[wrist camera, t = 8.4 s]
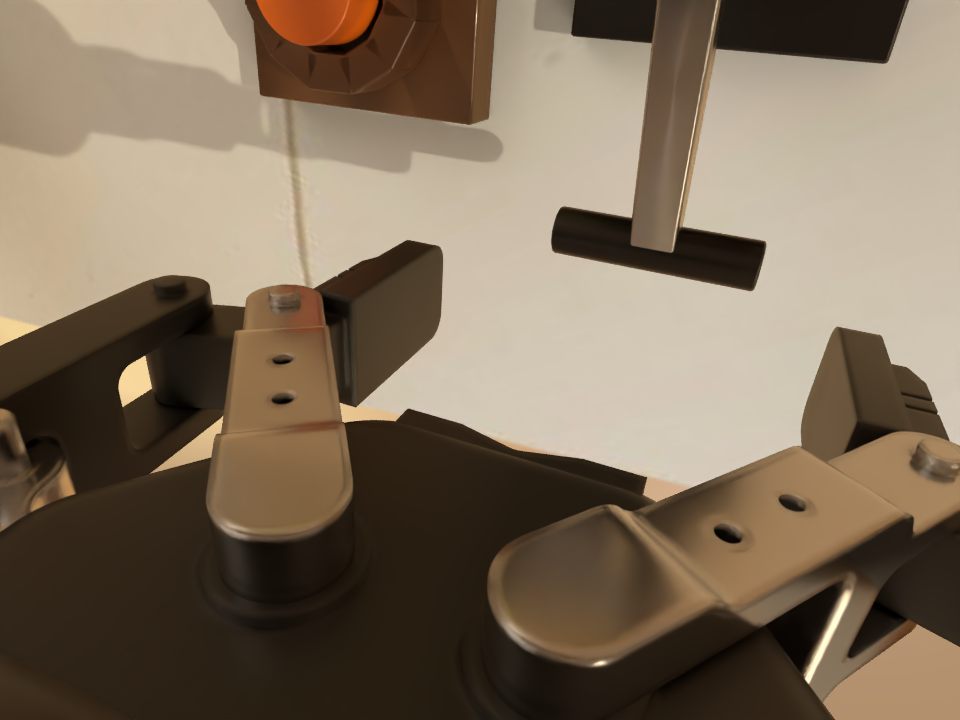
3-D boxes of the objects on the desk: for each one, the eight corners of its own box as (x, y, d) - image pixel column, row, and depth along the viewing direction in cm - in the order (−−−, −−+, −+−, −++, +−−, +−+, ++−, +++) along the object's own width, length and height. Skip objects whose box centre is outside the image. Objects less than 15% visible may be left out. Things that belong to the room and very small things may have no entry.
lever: (760, 255, 17) (746, 319, 15) (570, 220, 18) (543, 275, 17) (1011, -551, 8) (1035, -578, 6) (592, -481, 9) (534, -489, 8)
